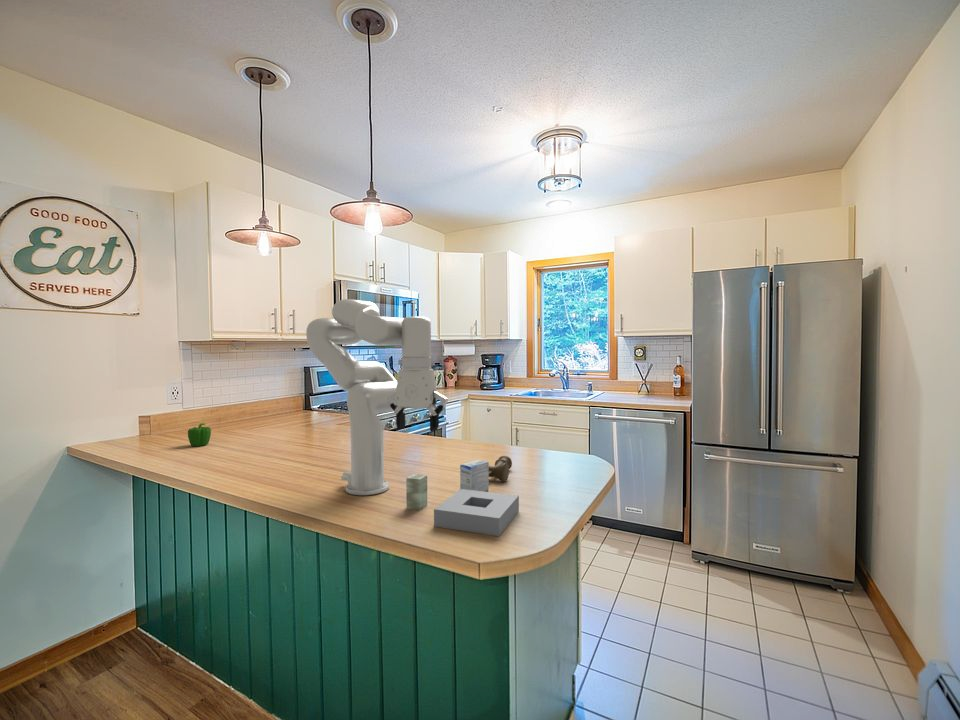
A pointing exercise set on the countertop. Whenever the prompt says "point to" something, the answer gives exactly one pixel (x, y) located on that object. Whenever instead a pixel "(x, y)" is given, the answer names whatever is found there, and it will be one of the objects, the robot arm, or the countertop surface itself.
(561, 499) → the countertop surface
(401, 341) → the robot arm
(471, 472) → the medicine box
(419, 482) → the peg
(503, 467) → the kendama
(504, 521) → the socket block
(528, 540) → the countertop surface
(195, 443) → the bell pepper
